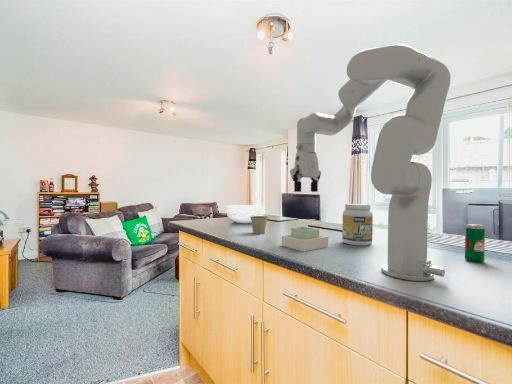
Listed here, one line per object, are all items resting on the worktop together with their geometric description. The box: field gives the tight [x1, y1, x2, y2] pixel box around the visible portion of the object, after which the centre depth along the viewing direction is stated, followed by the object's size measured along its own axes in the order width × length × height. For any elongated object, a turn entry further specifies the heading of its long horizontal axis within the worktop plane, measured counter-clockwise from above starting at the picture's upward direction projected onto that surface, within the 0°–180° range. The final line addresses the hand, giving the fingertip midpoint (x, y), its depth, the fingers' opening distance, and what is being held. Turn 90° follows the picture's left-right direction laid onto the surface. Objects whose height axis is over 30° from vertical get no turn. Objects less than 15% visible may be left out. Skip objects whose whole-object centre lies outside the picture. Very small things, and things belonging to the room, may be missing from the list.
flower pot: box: [249, 215, 269, 235], centre depth 139 cm, size 9×9×9 cm
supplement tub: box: [342, 203, 374, 247], centre depth 115 cm, size 12×12×17 cm
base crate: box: [281, 234, 329, 252], centre depth 109 cm, size 12×14×4 cm
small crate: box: [290, 226, 320, 240], centre depth 109 cm, size 9×7×7 cm
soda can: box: [464, 223, 486, 264], centre depth 87 cm, size 5×5×12 cm
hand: (306, 191), depth 108 cm, fingers open, 9 cm apart
